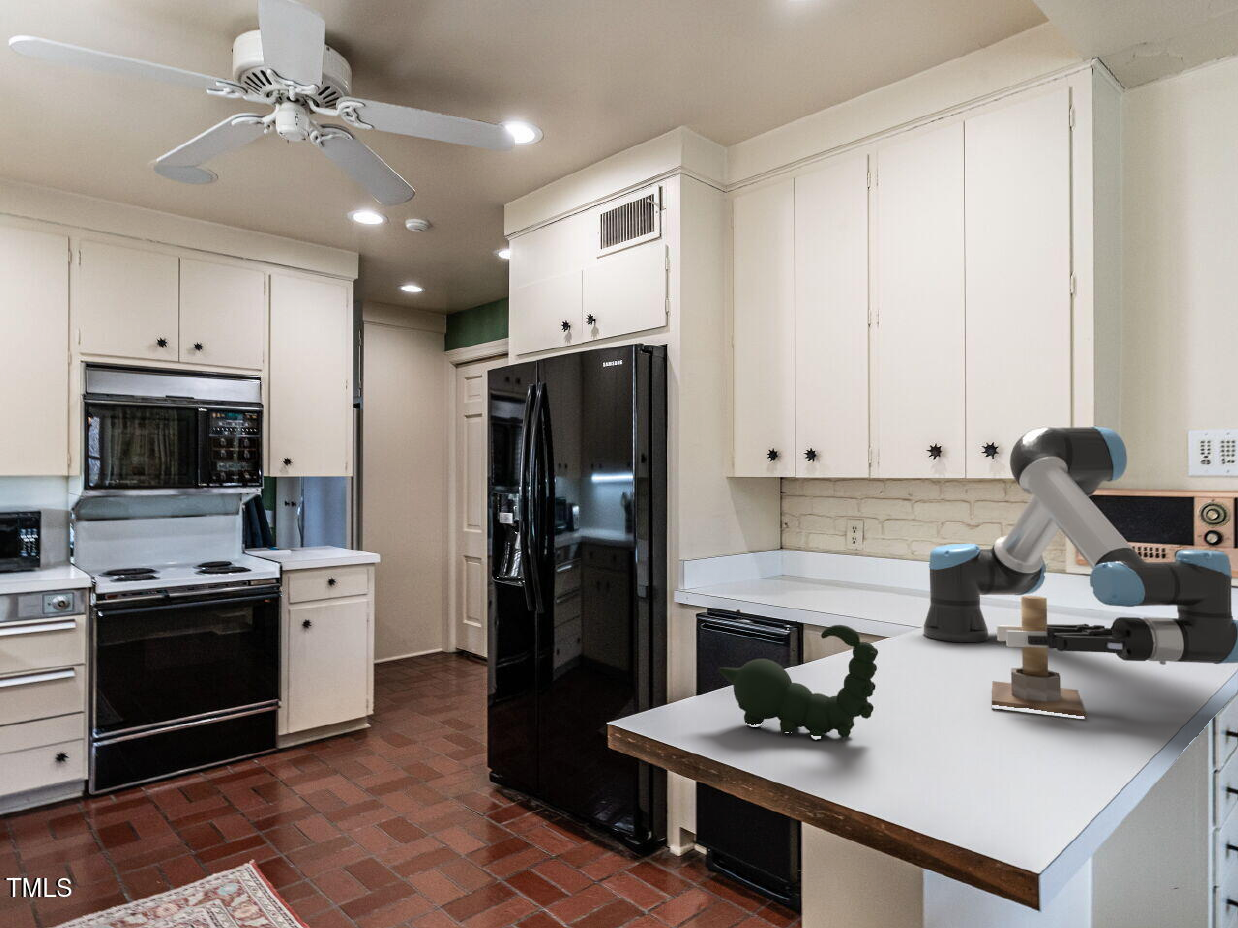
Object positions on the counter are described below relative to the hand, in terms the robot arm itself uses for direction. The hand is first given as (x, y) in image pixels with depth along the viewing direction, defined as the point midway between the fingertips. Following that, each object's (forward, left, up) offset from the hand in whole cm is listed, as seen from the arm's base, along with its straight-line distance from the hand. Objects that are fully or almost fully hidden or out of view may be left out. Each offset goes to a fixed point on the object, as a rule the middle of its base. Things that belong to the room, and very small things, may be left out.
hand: (1002, 635), depth 135 cm
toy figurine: (-30, -32, -12) cm, 46 cm away
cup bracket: (+5, +2, -12) cm, 13 cm away
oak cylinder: (+5, +2, -9) cm, 10 cm away
